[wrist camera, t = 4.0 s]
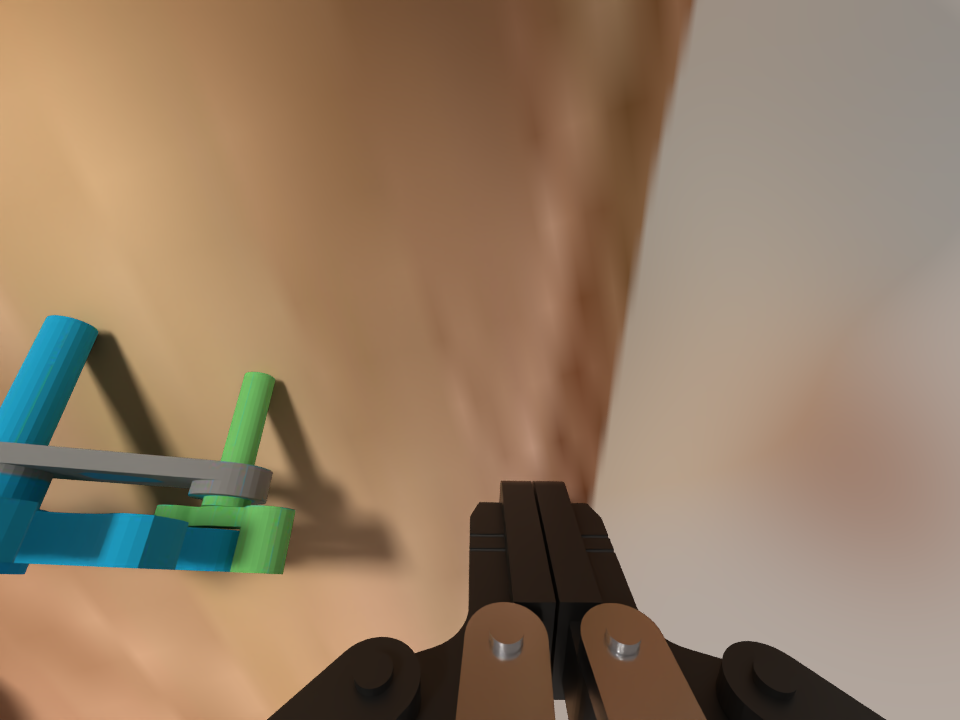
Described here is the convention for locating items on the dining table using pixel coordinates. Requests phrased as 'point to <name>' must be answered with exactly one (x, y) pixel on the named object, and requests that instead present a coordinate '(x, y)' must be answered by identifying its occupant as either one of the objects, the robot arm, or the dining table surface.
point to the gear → (130, 481)
